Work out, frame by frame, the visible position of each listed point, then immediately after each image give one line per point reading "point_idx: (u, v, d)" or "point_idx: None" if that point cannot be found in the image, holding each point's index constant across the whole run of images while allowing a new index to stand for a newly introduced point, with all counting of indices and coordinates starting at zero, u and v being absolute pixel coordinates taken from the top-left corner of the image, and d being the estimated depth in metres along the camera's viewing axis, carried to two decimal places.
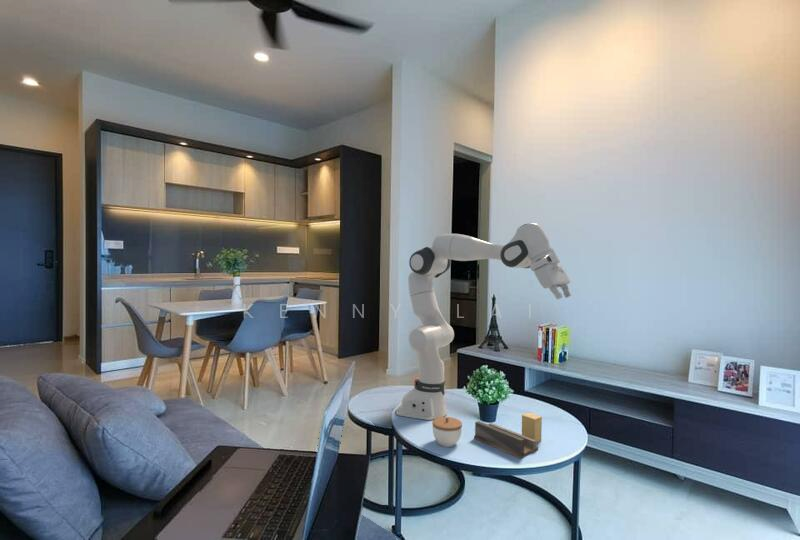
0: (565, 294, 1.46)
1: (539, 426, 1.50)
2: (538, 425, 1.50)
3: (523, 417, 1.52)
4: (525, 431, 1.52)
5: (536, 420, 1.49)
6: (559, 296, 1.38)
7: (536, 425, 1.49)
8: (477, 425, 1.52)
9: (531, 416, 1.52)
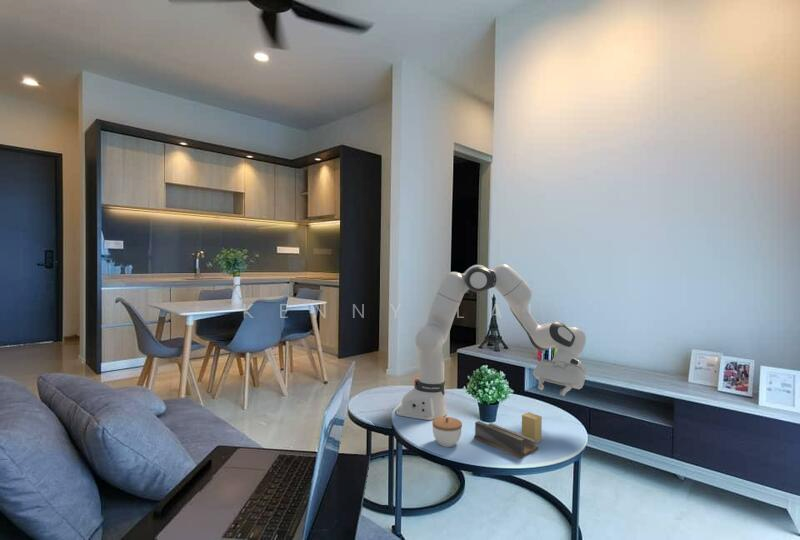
0: (542, 386, 1.63)
1: (539, 426, 1.50)
2: (538, 425, 1.50)
3: (523, 417, 1.52)
4: (525, 431, 1.52)
5: (536, 420, 1.49)
6: (564, 394, 1.56)
7: (536, 425, 1.49)
8: (477, 425, 1.52)
9: (531, 416, 1.51)
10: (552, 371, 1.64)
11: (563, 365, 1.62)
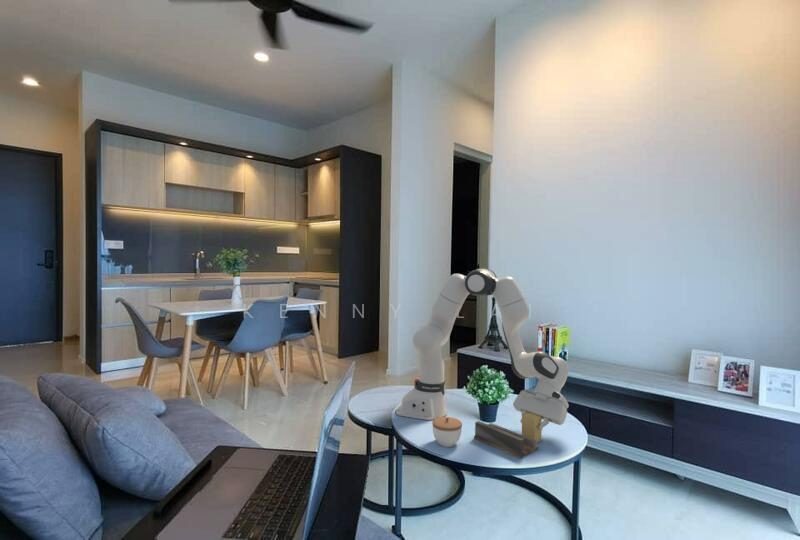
0: None
1: None
2: None
3: (523, 417, 1.52)
4: (525, 431, 1.52)
5: (536, 420, 1.49)
6: (542, 428, 1.49)
7: (536, 425, 1.49)
8: (477, 425, 1.52)
9: (531, 416, 1.51)
10: (533, 403, 1.56)
11: (544, 398, 1.54)
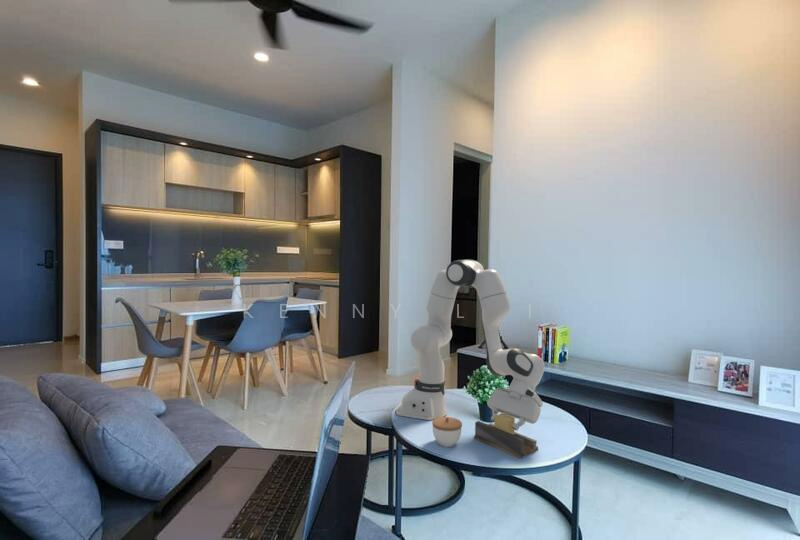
0: None
1: (511, 427, 1.46)
2: (511, 426, 1.46)
3: (496, 418, 1.48)
4: None
5: (509, 421, 1.45)
6: (517, 428, 1.44)
7: (508, 426, 1.45)
8: (477, 425, 1.52)
9: (503, 417, 1.47)
10: (506, 402, 1.52)
11: (518, 396, 1.50)
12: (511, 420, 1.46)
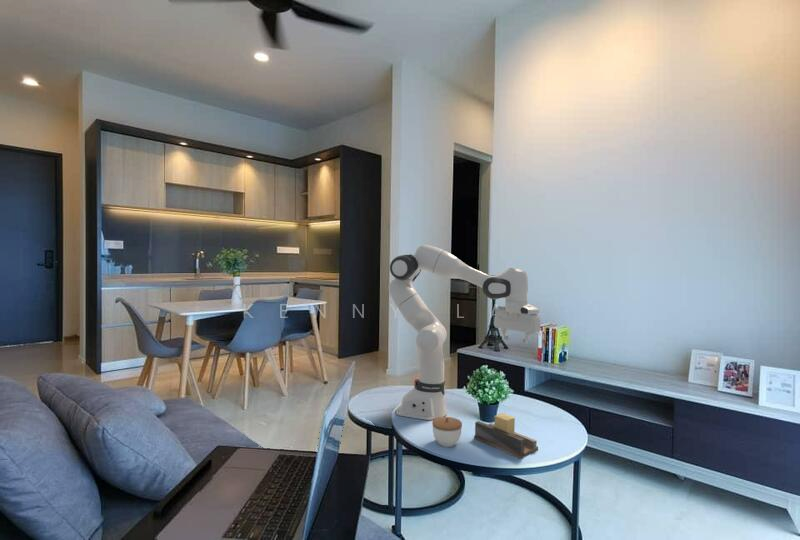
0: (507, 337, 1.69)
1: (511, 427, 1.46)
2: (511, 426, 1.46)
3: (496, 418, 1.48)
4: None
5: (509, 421, 1.45)
6: (528, 341, 1.62)
7: (508, 426, 1.45)
8: (477, 425, 1.52)
9: (503, 417, 1.47)
10: (509, 321, 1.66)
11: (516, 315, 1.63)
12: (511, 420, 1.46)
